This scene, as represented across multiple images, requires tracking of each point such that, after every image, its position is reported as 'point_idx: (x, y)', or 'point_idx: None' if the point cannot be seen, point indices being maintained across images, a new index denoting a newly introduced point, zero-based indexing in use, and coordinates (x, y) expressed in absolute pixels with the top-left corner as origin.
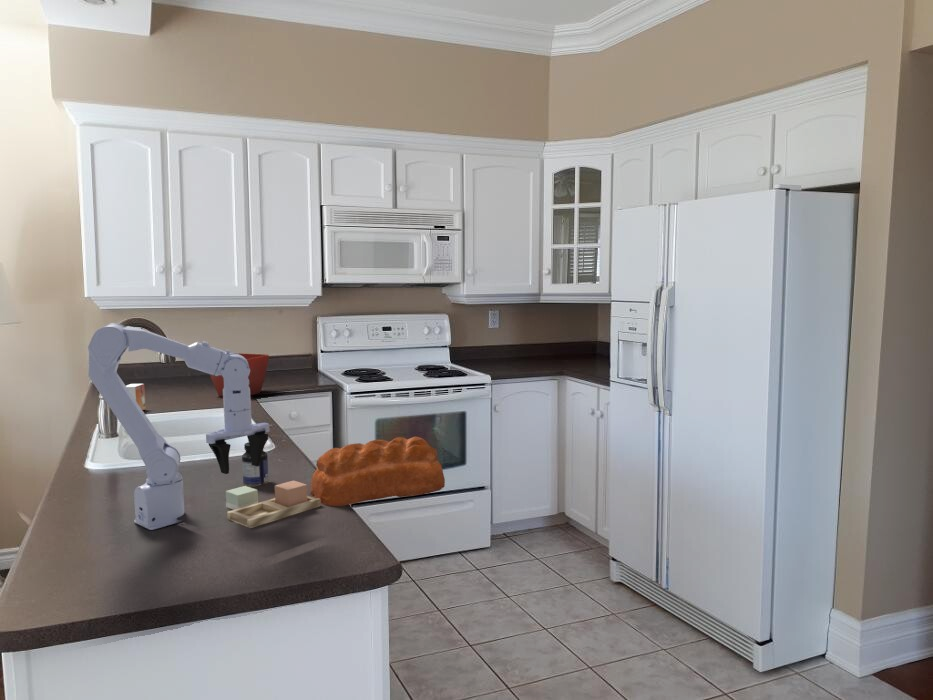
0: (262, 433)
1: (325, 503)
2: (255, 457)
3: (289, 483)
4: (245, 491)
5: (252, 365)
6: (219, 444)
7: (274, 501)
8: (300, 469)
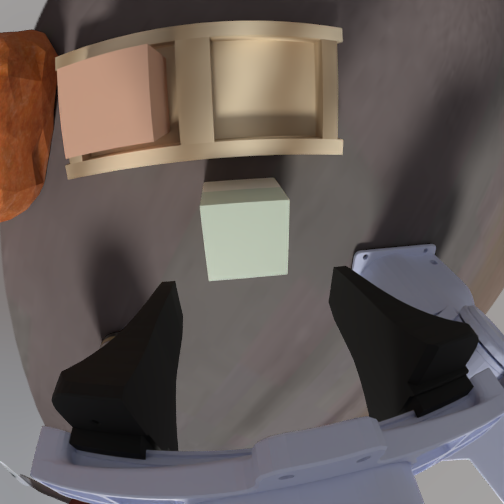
0: (90, 433)
1: (52, 56)
2: (170, 319)
3: (93, 128)
4: (243, 221)
5: None
6: (453, 369)
7: (163, 146)
8: (34, 365)
